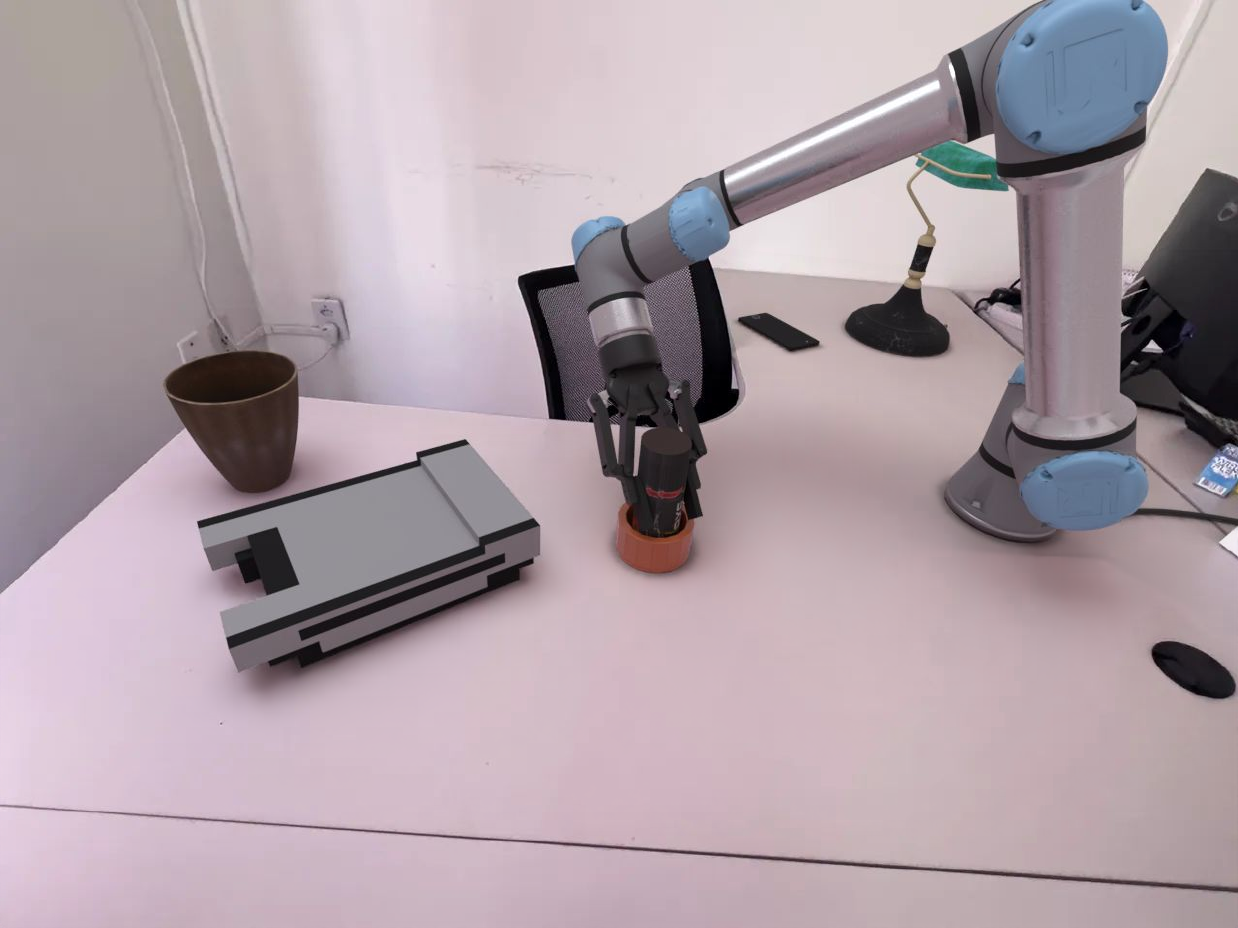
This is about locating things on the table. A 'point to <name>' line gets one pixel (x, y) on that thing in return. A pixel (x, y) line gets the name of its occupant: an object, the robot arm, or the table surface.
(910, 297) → the banker's lamp
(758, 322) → the cell phone
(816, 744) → the table surface
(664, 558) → the cup
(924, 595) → the table surface
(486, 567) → the game console
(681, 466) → the deodorant
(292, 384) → the flower pot
